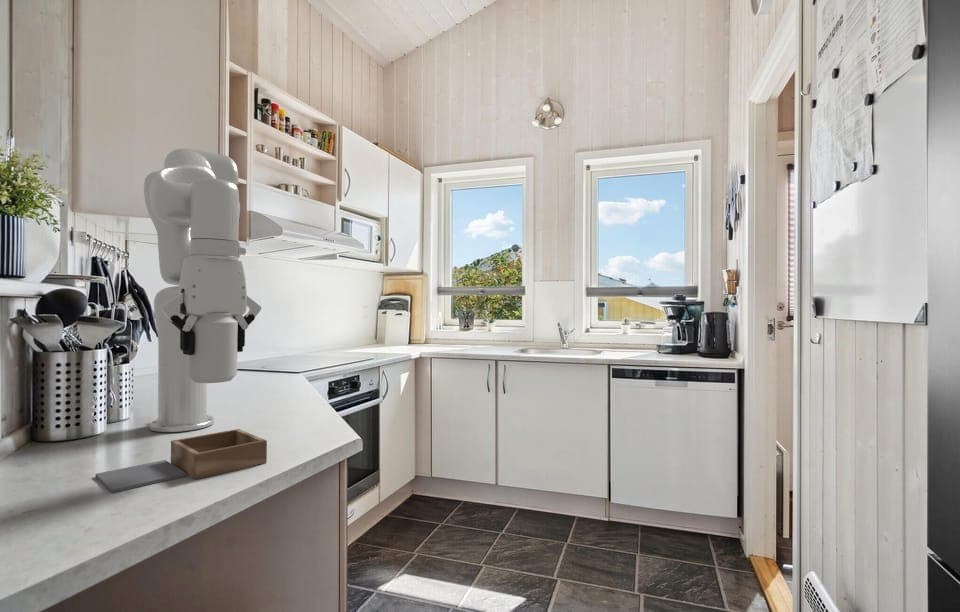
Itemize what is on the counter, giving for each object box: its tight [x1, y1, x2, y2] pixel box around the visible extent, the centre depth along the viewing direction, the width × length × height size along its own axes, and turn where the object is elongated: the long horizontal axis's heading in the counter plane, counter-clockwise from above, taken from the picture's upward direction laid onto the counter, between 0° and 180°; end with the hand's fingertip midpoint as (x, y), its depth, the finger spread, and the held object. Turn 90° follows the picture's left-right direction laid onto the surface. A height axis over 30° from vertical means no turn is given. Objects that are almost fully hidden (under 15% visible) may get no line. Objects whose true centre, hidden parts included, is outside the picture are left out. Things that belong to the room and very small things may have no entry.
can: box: [189, 313, 238, 384], centre depth 89 cm, size 8×8×12 cm
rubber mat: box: [95, 459, 187, 494], centre depth 82 cm, size 10×10×1 cm
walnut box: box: [170, 428, 268, 480], centre depth 90 cm, size 12×12×4 cm
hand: (213, 352), depth 89 cm, fingers closed on can, 7 cm apart
